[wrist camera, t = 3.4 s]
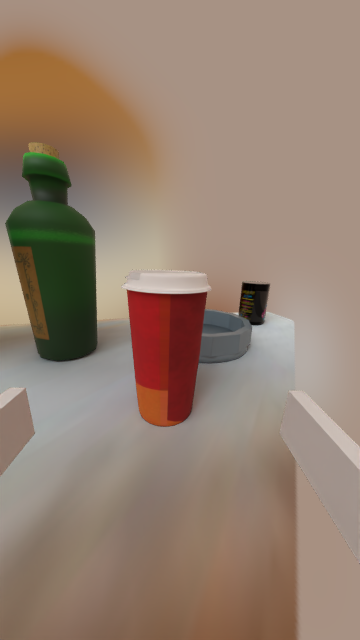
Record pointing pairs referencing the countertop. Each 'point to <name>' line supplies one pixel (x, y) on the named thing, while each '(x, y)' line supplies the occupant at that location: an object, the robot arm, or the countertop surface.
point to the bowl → (223, 337)
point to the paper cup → (166, 340)
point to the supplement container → (254, 301)
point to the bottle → (54, 260)
